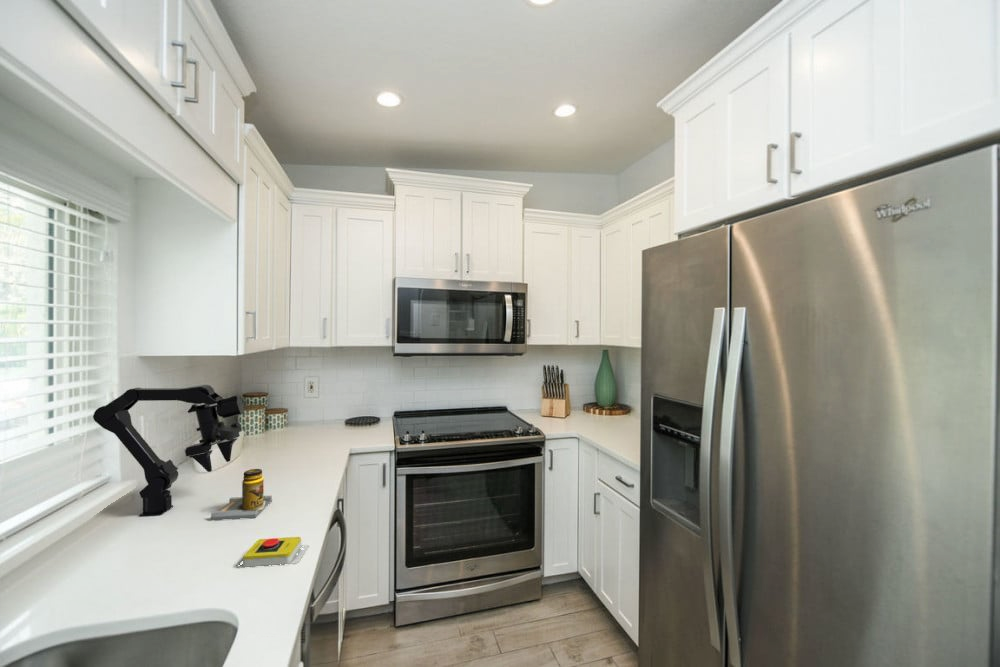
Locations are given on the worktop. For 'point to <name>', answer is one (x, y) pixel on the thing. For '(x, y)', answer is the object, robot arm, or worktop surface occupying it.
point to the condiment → (252, 491)
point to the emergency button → (274, 552)
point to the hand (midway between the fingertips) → (219, 466)
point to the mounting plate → (232, 506)
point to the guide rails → (238, 512)
